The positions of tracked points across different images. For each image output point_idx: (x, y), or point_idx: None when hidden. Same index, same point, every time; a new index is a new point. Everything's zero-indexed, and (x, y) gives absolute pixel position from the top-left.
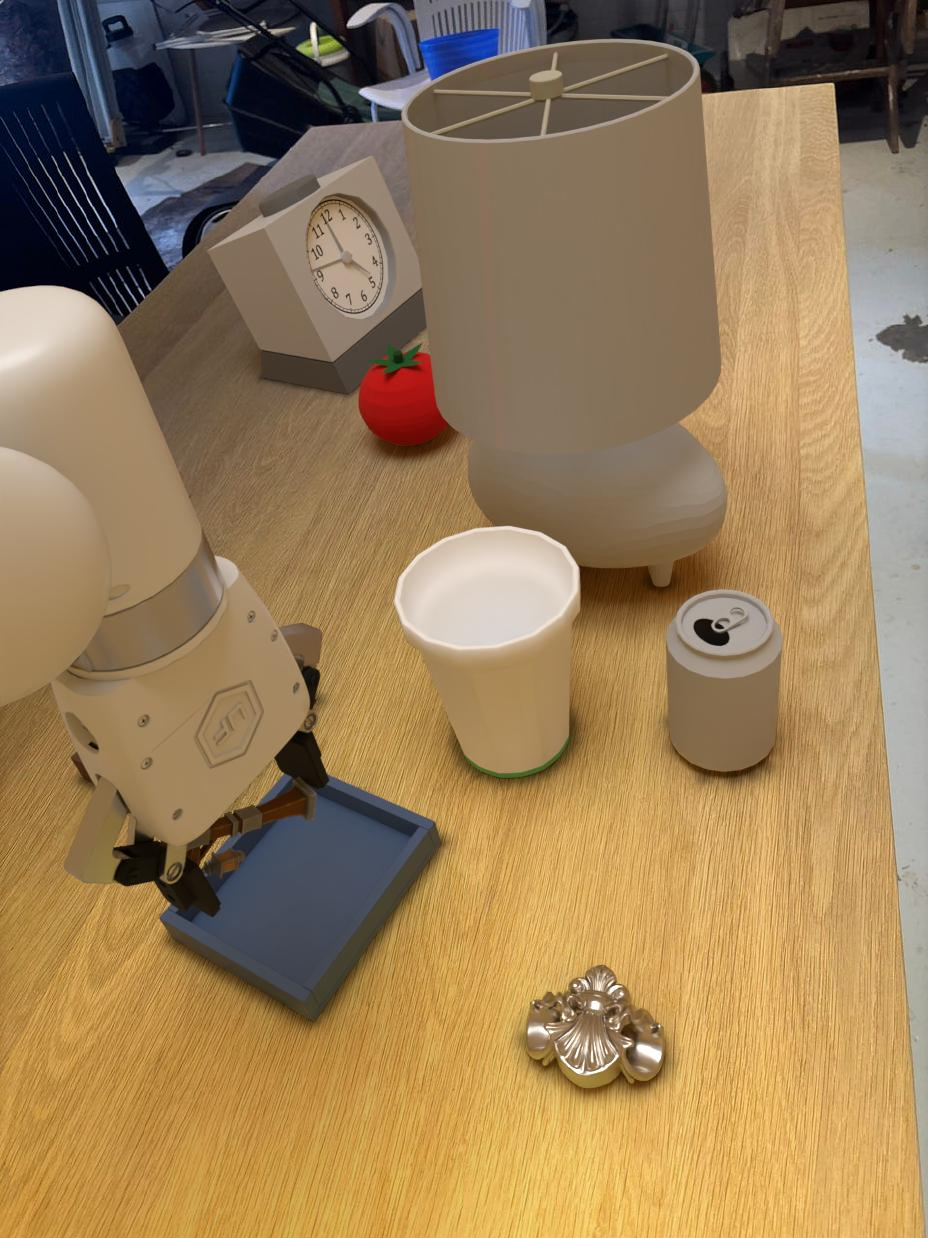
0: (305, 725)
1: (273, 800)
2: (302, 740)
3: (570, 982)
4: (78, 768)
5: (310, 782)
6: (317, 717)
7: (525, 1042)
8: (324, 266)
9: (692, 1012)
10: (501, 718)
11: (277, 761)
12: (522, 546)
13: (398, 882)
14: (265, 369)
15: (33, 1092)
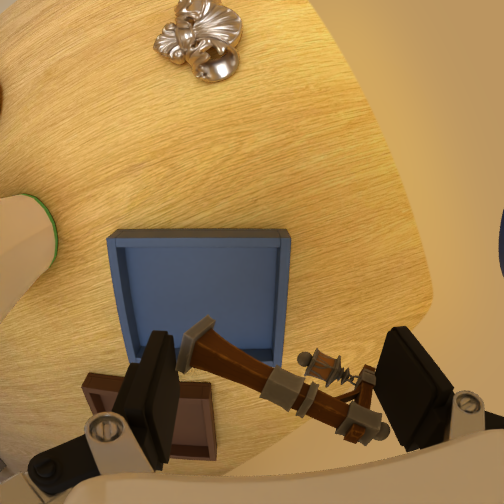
0: (117, 431)
1: (231, 377)
2: (142, 417)
3: (177, 59)
4: (216, 453)
5: (172, 351)
6: (89, 419)
7: (229, 76)
8: None
9: (156, 4)
10: (7, 231)
11: (177, 406)
12: None
13: (164, 234)
14: (2, 466)
15: None
